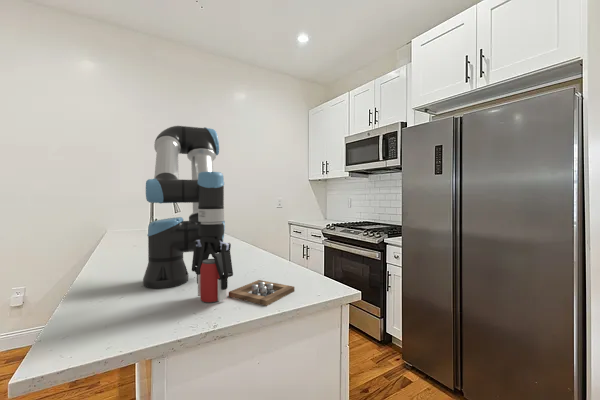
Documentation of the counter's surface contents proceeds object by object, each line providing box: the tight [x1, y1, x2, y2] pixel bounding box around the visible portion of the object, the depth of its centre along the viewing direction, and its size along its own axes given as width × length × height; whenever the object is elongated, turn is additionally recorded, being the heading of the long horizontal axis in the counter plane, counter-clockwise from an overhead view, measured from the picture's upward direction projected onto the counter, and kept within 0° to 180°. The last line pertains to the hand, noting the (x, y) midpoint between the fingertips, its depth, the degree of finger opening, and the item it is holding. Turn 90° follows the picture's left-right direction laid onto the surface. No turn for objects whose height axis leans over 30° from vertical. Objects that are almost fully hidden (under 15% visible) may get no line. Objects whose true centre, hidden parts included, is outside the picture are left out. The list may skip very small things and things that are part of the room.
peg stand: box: [251, 282, 274, 296], centre depth 95 cm, size 5×5×3 cm
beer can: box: [200, 258, 220, 304], centre depth 90 cm, size 7×7×12 cm
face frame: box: [228, 279, 295, 307], centre depth 95 cm, size 15×15×2 cm
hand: (211, 297), depth 90 cm, fingers open, 8 cm apart
